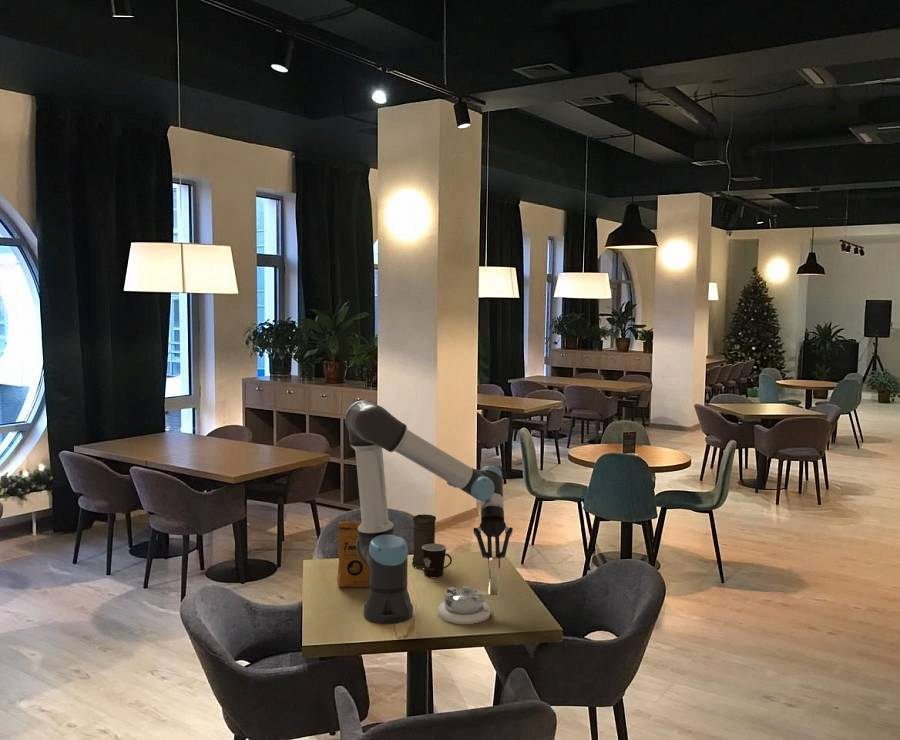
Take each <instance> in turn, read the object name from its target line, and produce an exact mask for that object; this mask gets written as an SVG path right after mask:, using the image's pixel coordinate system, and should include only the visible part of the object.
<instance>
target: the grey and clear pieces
mask: <svg viewBox="0 0 900 740" xmlns="http://www.w3.org/2000/svg"><path fill="white" fill-rule="evenodd" d="M499 570H500V568H499V558H497V557H490V558H489V567H488V591H487V590H482V589H481V588H479V589H474V590H473V589H471V586H470V585H463V586H462V588H461V589H457V588H455V587H452V586H451V587H449V588H447V589H446V593H444V602H445V609H446V610H447V611H448V612H451V613H454V614H460V615H470V614H476V613H479V612H481V611H482V610H483V607H484V603H485V602H484V600H486V601H487V600H488V601H489V600H490V601H499V600H498V599H499V597H500V596H499V594H500V593H499V575H500V574H499Z"/></svg>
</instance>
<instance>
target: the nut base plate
mask: <svg viewBox="0 0 900 740" xmlns="http://www.w3.org/2000/svg"><path fill="white" fill-rule="evenodd" d="M437 615H438V616H437V617H438V618H440V619H441V620H442V621H445V622H447V623H450V624H455V625H474V623H476V624H478V623H477V622H480V623H482V622H481V621H483V622H485V621H487V620H488V619H489V618H490V617H489V616H491V607H490V605H488V603H486V602H484V607H483V610H482V611H481V612H479V613H476V614H470V615H460V614H454V613H451V612H448V611H447V610H446V609H445V601H443V602H441V603H440V604H438V607H437ZM488 617H489V618H488ZM487 618H488V619H487ZM486 619H487V620H486ZM484 620H485V621H484Z"/></svg>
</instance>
